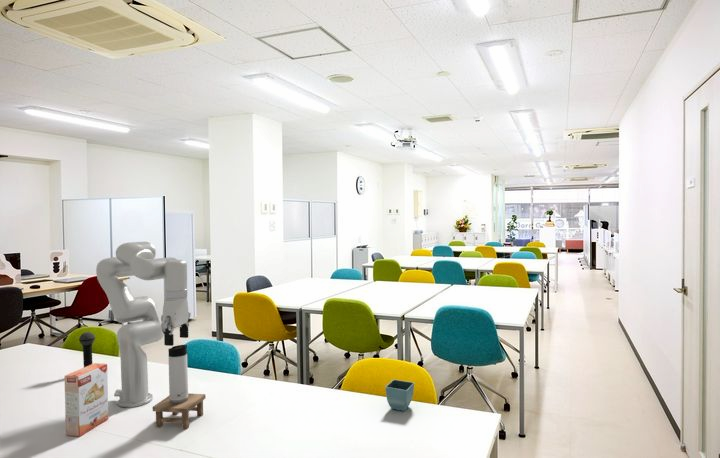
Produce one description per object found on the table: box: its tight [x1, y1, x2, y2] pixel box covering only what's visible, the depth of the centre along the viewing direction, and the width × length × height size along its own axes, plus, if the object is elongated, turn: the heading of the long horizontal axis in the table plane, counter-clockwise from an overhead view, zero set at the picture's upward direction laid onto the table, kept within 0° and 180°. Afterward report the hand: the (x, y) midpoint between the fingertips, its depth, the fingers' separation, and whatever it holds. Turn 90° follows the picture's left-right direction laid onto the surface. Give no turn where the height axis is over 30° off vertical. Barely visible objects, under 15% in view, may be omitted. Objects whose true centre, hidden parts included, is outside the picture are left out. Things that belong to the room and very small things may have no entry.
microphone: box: [78, 331, 96, 368], centre depth 219 cm, size 7×7×20 cm
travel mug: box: [168, 344, 189, 403], centre depth 167 cm, size 6×7×20 cm
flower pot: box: [385, 379, 415, 412], centre depth 175 cm, size 9×9×9 cm
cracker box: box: [64, 362, 109, 437], centre depth 163 cm, size 14×6×21 cm, turn 170°
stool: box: [152, 392, 206, 430], centre depth 167 cm, size 13×13×8 cm
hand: (176, 341), depth 167 cm, fingers open, 9 cm apart
